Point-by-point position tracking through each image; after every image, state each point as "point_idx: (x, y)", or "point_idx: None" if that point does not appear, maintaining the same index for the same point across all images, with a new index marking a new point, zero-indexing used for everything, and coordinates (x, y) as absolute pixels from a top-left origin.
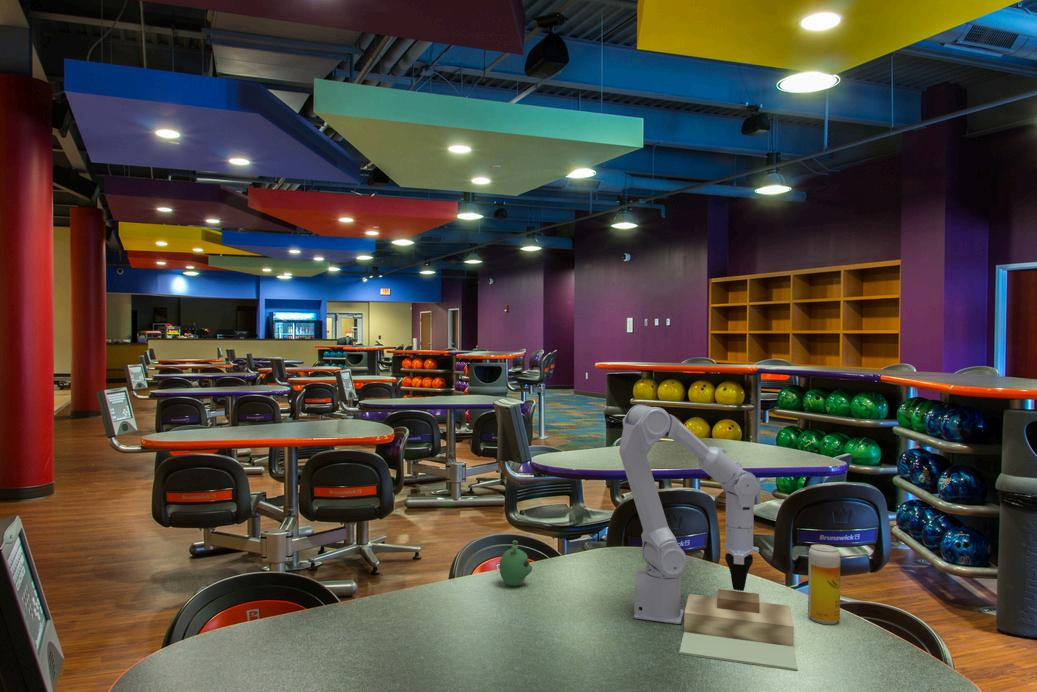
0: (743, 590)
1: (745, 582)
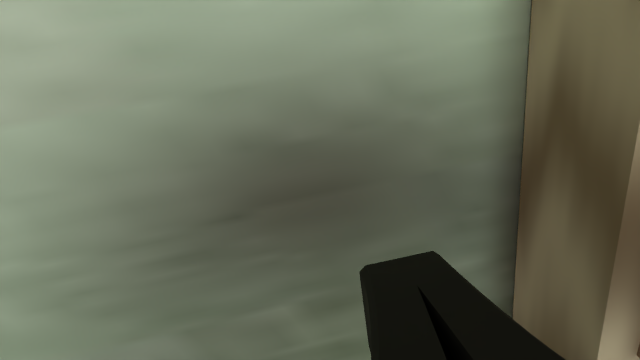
0: (434, 253)
1: (494, 307)
